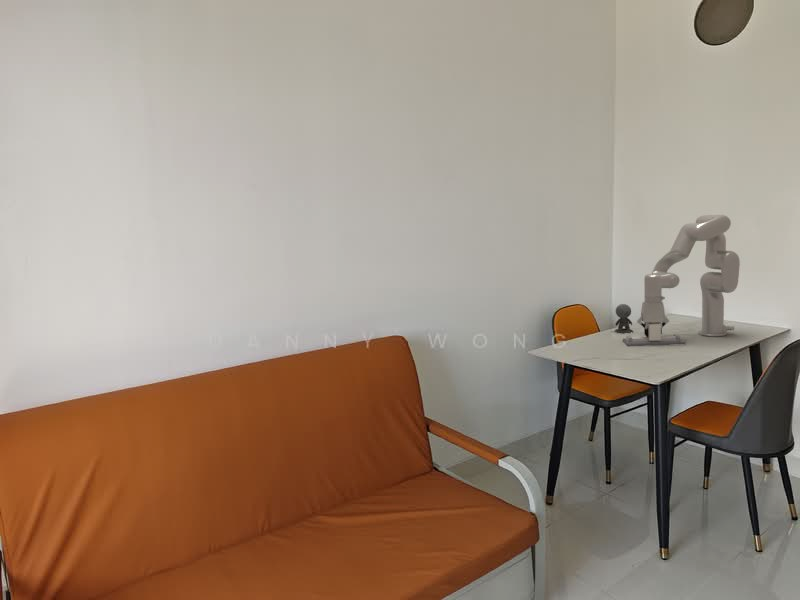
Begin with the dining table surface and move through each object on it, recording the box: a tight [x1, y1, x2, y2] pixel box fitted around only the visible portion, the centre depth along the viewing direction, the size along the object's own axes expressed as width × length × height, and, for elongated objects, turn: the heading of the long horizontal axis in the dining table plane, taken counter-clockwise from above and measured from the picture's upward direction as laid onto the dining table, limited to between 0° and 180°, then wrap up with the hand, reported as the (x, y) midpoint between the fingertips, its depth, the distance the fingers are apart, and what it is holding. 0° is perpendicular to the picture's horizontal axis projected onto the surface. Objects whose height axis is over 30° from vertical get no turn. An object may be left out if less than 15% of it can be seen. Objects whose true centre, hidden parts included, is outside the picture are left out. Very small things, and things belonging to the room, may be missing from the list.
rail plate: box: [622, 333, 686, 347], centre depth 270 cm, size 26×11×3 cm, turn 80°
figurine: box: [614, 303, 634, 334], centre depth 297 cm, size 9×10×15 cm
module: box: [645, 323, 662, 341], centre depth 270 cm, size 5×8×9 cm, turn 170°
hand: (653, 335), depth 270 cm, fingers closed on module, 4 cm apart
